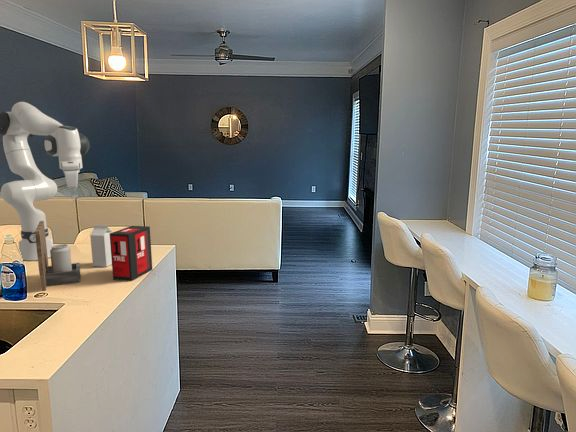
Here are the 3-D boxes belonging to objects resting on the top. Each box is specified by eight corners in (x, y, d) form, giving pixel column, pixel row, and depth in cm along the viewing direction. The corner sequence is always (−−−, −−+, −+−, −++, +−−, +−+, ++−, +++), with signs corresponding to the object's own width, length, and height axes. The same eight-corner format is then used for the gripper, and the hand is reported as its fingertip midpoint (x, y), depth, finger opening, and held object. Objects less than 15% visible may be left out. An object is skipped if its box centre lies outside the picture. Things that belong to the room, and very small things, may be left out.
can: (65, 276, 190) (62, 248, 187) (48, 275, 191) (45, 247, 188) (75, 270, 197) (73, 243, 195) (60, 270, 198) (57, 243, 196)
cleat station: (45, 274, 202) (39, 220, 198) (80, 270, 208) (75, 218, 203) (41, 291, 181) (34, 231, 176) (80, 286, 186) (74, 228, 182)
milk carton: (106, 267, 212) (103, 227, 209) (92, 266, 214) (89, 226, 210) (115, 263, 219) (112, 224, 216) (101, 262, 220) (98, 223, 217)
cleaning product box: (134, 268, 210) (131, 225, 206) (152, 269, 208) (149, 226, 204) (113, 279, 194) (109, 233, 191) (131, 281, 192) (128, 234, 189)
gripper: (63, 163, 204) (66, 194, 206) (61, 166, 185) (65, 200, 188) (79, 162, 206) (81, 193, 209) (78, 165, 188) (81, 199, 190)
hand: (73, 196), depth 198 cm, fingers open, 8 cm apart
